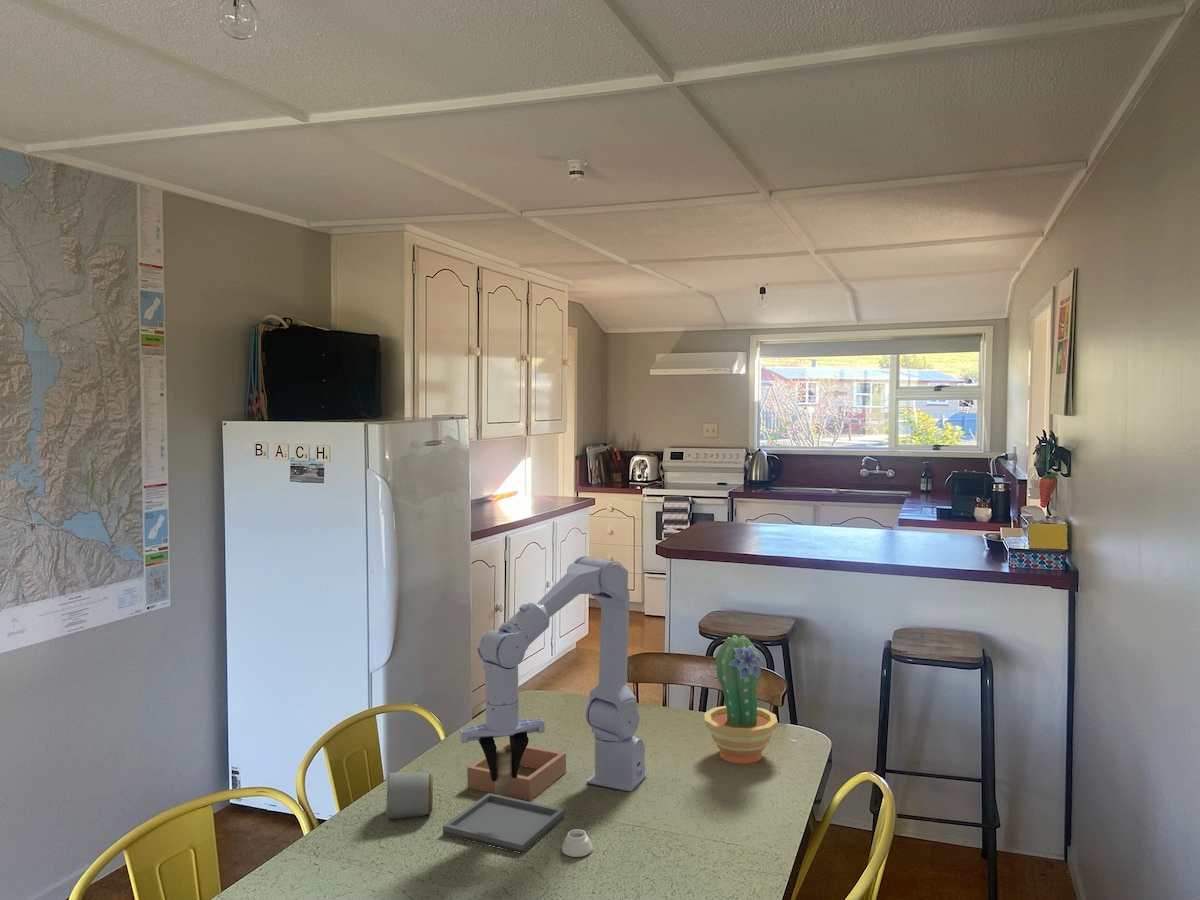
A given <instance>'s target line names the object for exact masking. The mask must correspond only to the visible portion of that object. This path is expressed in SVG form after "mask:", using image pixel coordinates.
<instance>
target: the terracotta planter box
mask: <svg viewBox="0 0 1200 900" xmlns="http://www.w3.org/2000/svg"><path fill="white" fill-rule="evenodd" d="M500 748H508V749H510V741H509V742H508V741H506V742H504V743H503V744H501V745H499V746H498V747H497V748H496V750H497V749H500ZM519 765H521V766H520V767H523V766H526V767H525V768H528V767H530V768H529V769H533V768H536V769H535V771H534V772H533V773H531V774H530V775H528V776H524V775H519V774H517V778H513V777H512V790H513V791H512V792H511V793H510V794H506V795H505V797H510V798H512V797H513V798H514V799H517V798H518V799H519V800H522V799H523V800H524V801H526V800H527V801H528V802H532V801H533V799H535V798H536V797H537V796H538V795H540V794H541V793H542V792H543V790H544V791H546V790H547V788H549V787H550V786H552V785H553V782H554V781H555V782H556V781H557V779H558V778H559V779H561V777H563V776H564V775H565V774H567V753H566V752H562V751H557V750H553V749H552V750H551V749H546V748H543V747H542V748H540V747H535V746H530V745H527V747H526V749H525V751H524V753H523V755H522V758H521V761H520V764H519ZM563 774H564V775H563ZM466 775H467V777H466V778H467V779H466V780H467V788H468V787H469V788H468V789H471V788H473V789H472V790H476V789H477V791H480V790H482V792H485V791H486V793H489V792H491V793H492V794H496V795H498V794H497V793H495V781H492V779H491V777H490V771H489V766H488V763H487V760H486V757H485V755H484V756H482V757H481V758H479V759H478V760H476V761H475V762H472V763H471V764H470V765H469V766H468V765H467V769H466ZM562 775H563V776H562ZM560 776H561V777H560ZM559 779H558V780H559ZM555 782H554V783H555ZM548 786H549V787H548ZM534 797H535V798H534Z"/></svg>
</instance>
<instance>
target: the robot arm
mask: <svg viewBox="0 0 1200 900" xmlns="http://www.w3.org/2000/svg"><path fill="white" fill-rule="evenodd" d="M628 585H629V570H628V569H627V568H626V567H625V566H624V565H623V564H622V563H621V562H619V561H618V560H607V559H606V560H605V559H600V558H595V557H594V558H592V557H590V556H585V555H582V556H579V557H577V558H576V559H575V560H574V561H573V563H571V564H569V565H568V566H567V569H566V573H565V574H564V575H563V577H561V578H560V579H559V580H558V582H556V583H555V584H554V586H553V587H552V588H550V590H549V591H548V592H546V593H545V595H543V597H542V598H541V599H540V600H539V601H538V602H537V603H535V602H528V603H523V604H521V605H520V606H519V608H518V609H519V610H518V611H517V612H516V613H515V614H514V615H512V616H511V617H510V618H509V619H508V620H506V621H504V622H502V623H501V624H500V627H499V628H498V629H491V630H489V631H487V632H486V633H484V635H482V638H481V640H480V643H479V646H478V647H477V648H476V652H477V656H478V658H479V659H480V660H481V662H482V666H483V667H482V669H483V671H484V684H485V689H484V691H485V722H484V723H481V724H476V725H473V726H468V727H464V728H460V729H459V731H460V732H459V738H460V739H459V740H460V742H461V745H462V744H468V743H469V742H473V741H478V743H479V744H480V747H481V749H482V751H483V754H484V756H485V757H486V760H487V763H488V766H489V771H490V777H491V779H492V781H497V773H496V749H497V748H498V747H497V745H496V743H495V742H496V741H495V740H494V739H496V738H502V737H509V743H510V749H511V750H512V777H513V778H517V775H518V773H519V768H520V766H519V764H520V761H521V758H522V755H523V753H524V751H525V749H526V747H527V746H529V742H530V741H529V737H528V734H533V733H538V734H543V733H545V730H546V729H545V721H544V720H543V718H520V707H519V705H520V704H519V702H520V701H519V698H520V697H519V664H521V663H522V661H523V659H524V657H525V653H526V651H527V650H528V649H529V646H530V645H531V644H532V643H533V642H534V641H535V640H536V639H538V637H540V636H541V635H542V634H543V633H544V632H545V631H546V630H547V629H548V628H549V627H550V622H551V621H550V618H551V617H552V616H554V615H555V614H556V613H558V612H559V611H560V610H561V609H563V608H564V607H565V606H566V605H568V604H569V603H570V602H571V601H573V600H574V599H575V598H577V597H578V596H579V595H591V596H592V597H593V598H594V600H596V601H597V602H598V603H599V604H600V606H601V610H600V611H601V612H600V631H599V632H600V633H599V634H600V637H599V639H600V641H599V660H598V661H599V664H598V666H599V667H598V668H599V669H598V684H597V685H596V686H595V687H594V688H592V689H591V690H590V692H589V699H588V703H587V705H586V709H585V720H586V723H587V725H588V726H589V727H591V733H592V734H594V737H593V738H594V739H593V740H594V741H593V742H594V774H593V775H591V776H590V777H589V778H588V779H587V780H586V783H587V784H591V785H596V786H600V787H606V788H610V789H611V788H612V789H615V790H621V791H626V792H632V791H633V790H634V789H635V788H636V786H638V785H639V784H640V783H641V782H642V781H643V780H644V779H645V778H646V777H647V773H646V768H645V767H646V765H645V764H646V763H645V762H646V758H645V757H646V756H645V751H646V750H645V743H644V740H643V739H642V738H638V737H637V736H635V734H636V732H637V730H638V727H639V725H640V713H639V710H638V705H637V704H638V700H637V697H636V695H635V694H634V693H633V691H631V689H630V688H629V687H628V683H627V681H628V680H627V677H628V654H629V653H628V650H629V649H628V648H629V624H630V598H631V597H630V591H629V587H628Z"/></svg>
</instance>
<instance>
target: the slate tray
mask: <svg viewBox="0 0 1200 900" xmlns="http://www.w3.org/2000/svg"><path fill="white" fill-rule="evenodd" d="M564 819H565V809H563V808H560V807H554V806H549V805H546V804H542V803H536V802H533V801H526V800H522V799H517V798H512V797H508V796H503V795H499V794H494V793H489V792H487V794H485V795H484V796H482V797H481V798H480V799H478V800H477V801H476V802H474V803H473V804H470V806H468V807H467V808H466V809H465V810H462V811H461V812H460V813H459V814H457V815H456V816H455V817H453V818H452V819H450V820H449V821H447V822H446V823H445V824H443V825H442V835H444V834H445V835H444V836H448V835H449V836H448V837H452V836H454V837H453V838H456V837H457V838H456V839H460V838H462V839H461V840H464V839H466V840H465V841H468V840H470V841H469V842H471V841H475V842H478V843H477V844H479V843H483V844H486V845H485V846H487V845H491V846H495V847H500V848H503V849H507V850H511V851H516V852H520V853H524V852H525V851H526V850H527V849H528V848H529V847H530V846H532V845H533V844H534V843H535V842H536V841H537V840H538V839H540V838H541V837H542V836H543V835H544V834H545V835H547V834H548V833H549V832H550V831H551V830H552V829H553V828H554V827H556V826H555V825H556V824H557V823H558V824H559V823H560V822H561V821H562V820H564ZM558 824H557V825H558ZM550 829H551V830H550ZM549 830H550V831H549ZM548 831H549V832H548ZM547 832H548V833H547ZM545 835H544V836H545ZM544 836H543V837H544ZM543 837H542V838H543ZM542 838H541V839H542ZM541 839H540V840H541ZM475 842H474V843H475ZM537 842H538V841H537ZM537 842H536V843H537ZM536 843H535V844H536ZM483 844H482V845H483ZM535 844H534V845H535ZM534 845H533V846H534ZM491 846H490V847H491ZM533 846H532V847H533ZM495 847H494V848H495ZM503 849H502V850H503ZM529 849H530V848H529ZM529 849H528V850H529ZM507 850H506V851H507ZM528 850H527V851H528ZM511 851H510V852H511ZM527 851H526V852H527ZM526 852H525V853H526ZM525 853H524V854H525Z"/></svg>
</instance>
